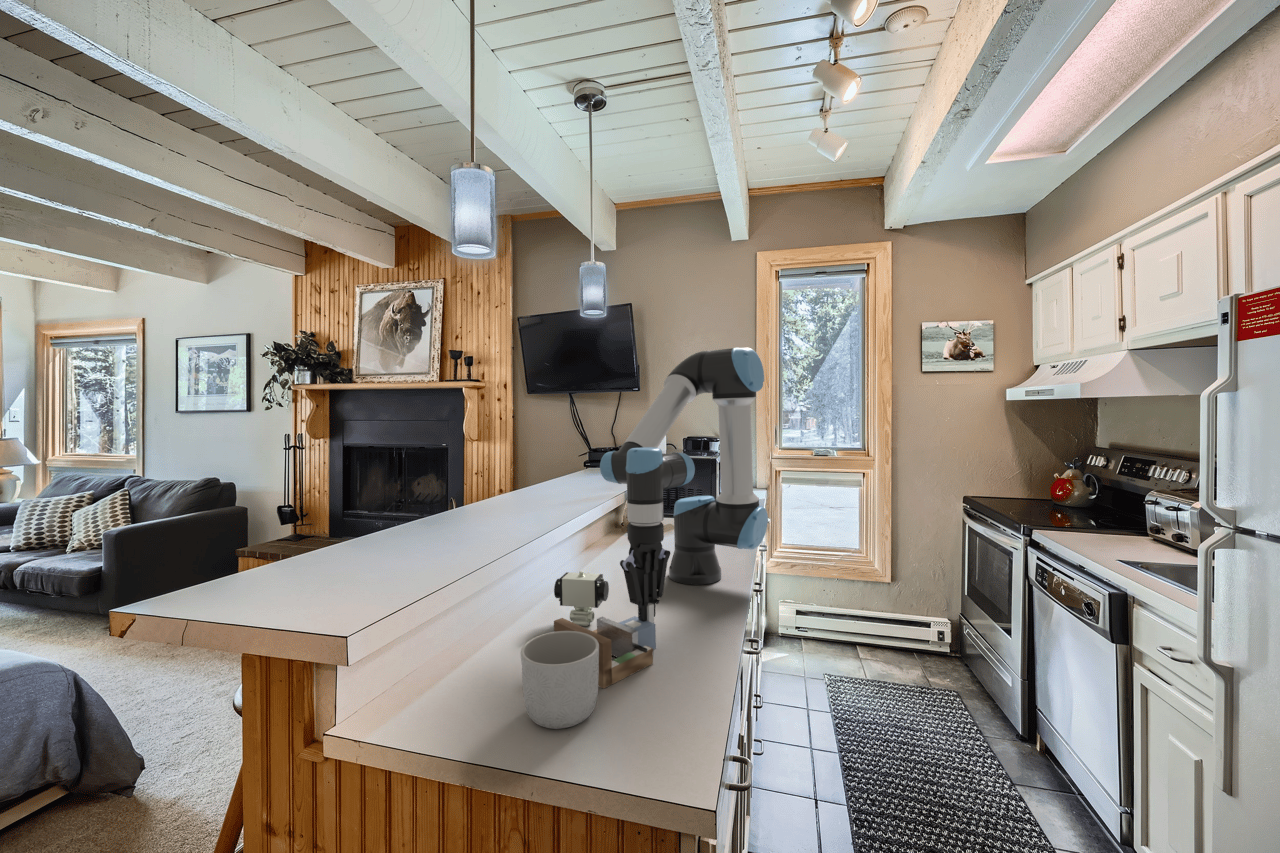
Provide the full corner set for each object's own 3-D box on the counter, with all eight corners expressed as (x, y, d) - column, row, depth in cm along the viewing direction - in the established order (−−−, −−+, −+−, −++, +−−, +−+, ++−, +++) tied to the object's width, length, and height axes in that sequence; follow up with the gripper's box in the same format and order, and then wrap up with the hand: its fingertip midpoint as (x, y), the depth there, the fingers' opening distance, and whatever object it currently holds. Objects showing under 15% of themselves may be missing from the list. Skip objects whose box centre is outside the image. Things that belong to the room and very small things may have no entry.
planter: (531, 746, 76) (529, 672, 76) (515, 703, 87) (514, 638, 87) (611, 724, 81) (610, 655, 81) (586, 686, 92) (585, 625, 92)
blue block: (635, 639, 111) (634, 614, 111) (655, 648, 107) (655, 622, 106) (610, 650, 106) (610, 624, 106) (631, 660, 102) (630, 633, 101)
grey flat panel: (602, 645, 108) (602, 616, 107) (649, 667, 98) (649, 635, 98) (597, 647, 106) (596, 618, 106) (643, 670, 97) (643, 638, 97)
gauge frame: (603, 640, 110) (602, 603, 110) (653, 663, 100) (652, 622, 100) (554, 661, 102) (553, 620, 101) (603, 688, 91) (602, 643, 91)
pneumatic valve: (604, 629, 116) (603, 575, 116) (554, 625, 119) (553, 573, 118) (610, 619, 122) (609, 568, 121) (562, 616, 124) (561, 566, 124)
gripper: (653, 515, 116) (655, 620, 116) (609, 524, 107) (612, 638, 107) (679, 519, 110) (681, 629, 111) (635, 530, 101) (637, 650, 102)
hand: (647, 634), depth 109 cm, fingers closed
